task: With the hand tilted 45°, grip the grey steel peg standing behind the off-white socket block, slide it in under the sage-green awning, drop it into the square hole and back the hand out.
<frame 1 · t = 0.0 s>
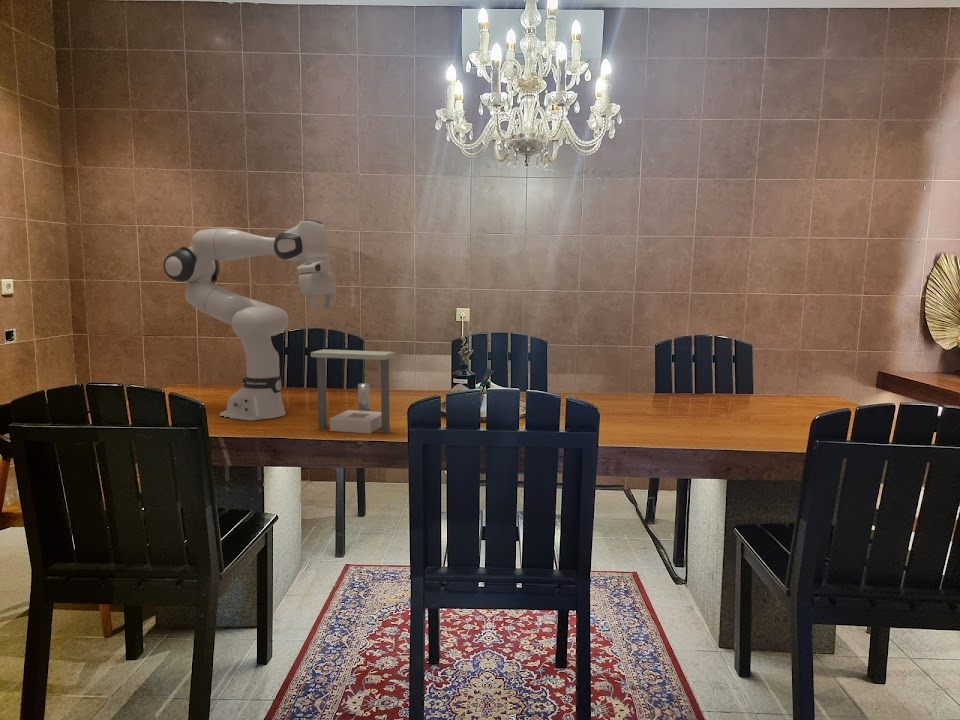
hand: (321, 308, 220), 39 cm above the table, tool pointing down, fingers open, 8 cm apart
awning: (358, 427, 213), on the table
peg: (364, 417, 227), on the table
socket: (358, 427, 213), on the table
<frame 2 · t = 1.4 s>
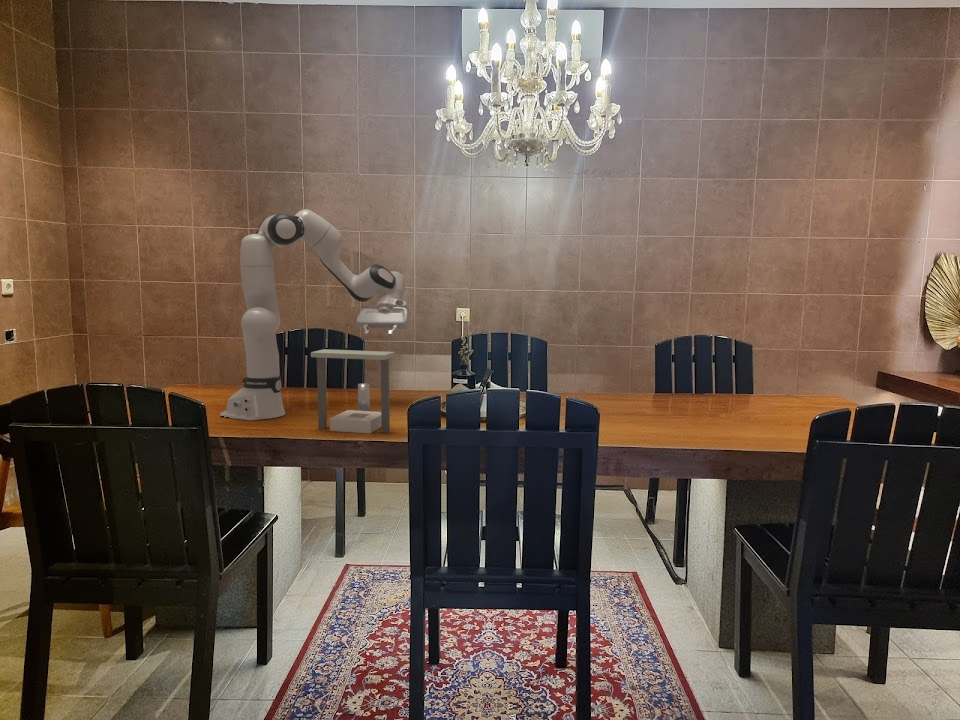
hand: (378, 335, 237), 28 cm above the table, tool tilted 45°, fingers open, 8 cm apart
nothing on the table moved.
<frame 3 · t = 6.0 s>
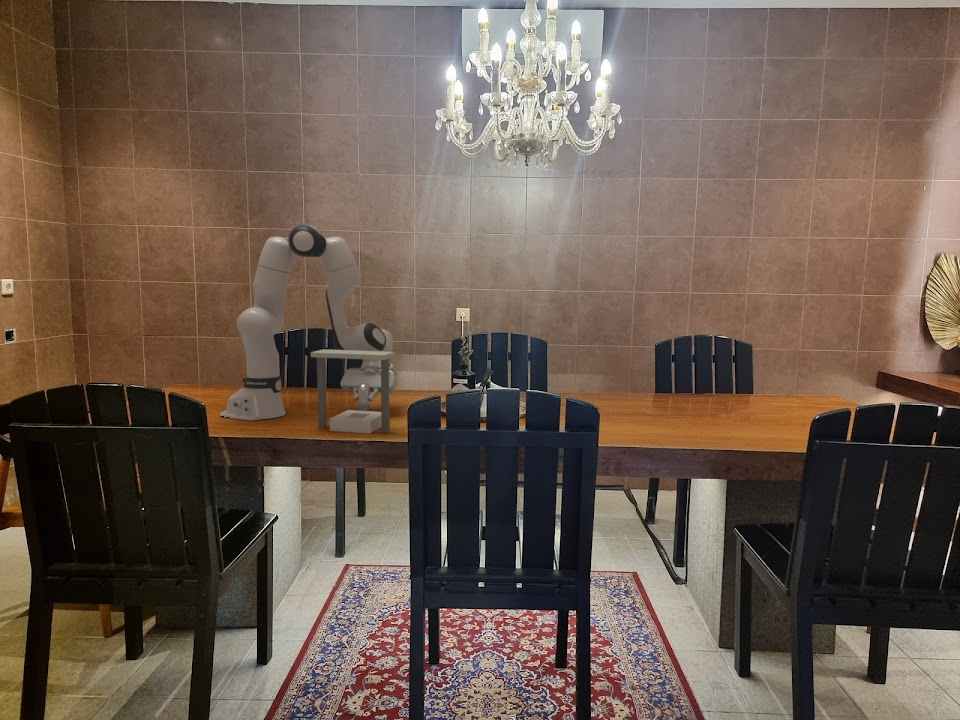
hand: (363, 400, 226), 6 cm above the table, tool tilted 45°, fingers closed on peg, 4 cm apart
peg: (364, 417, 227), on the table, touching gripper
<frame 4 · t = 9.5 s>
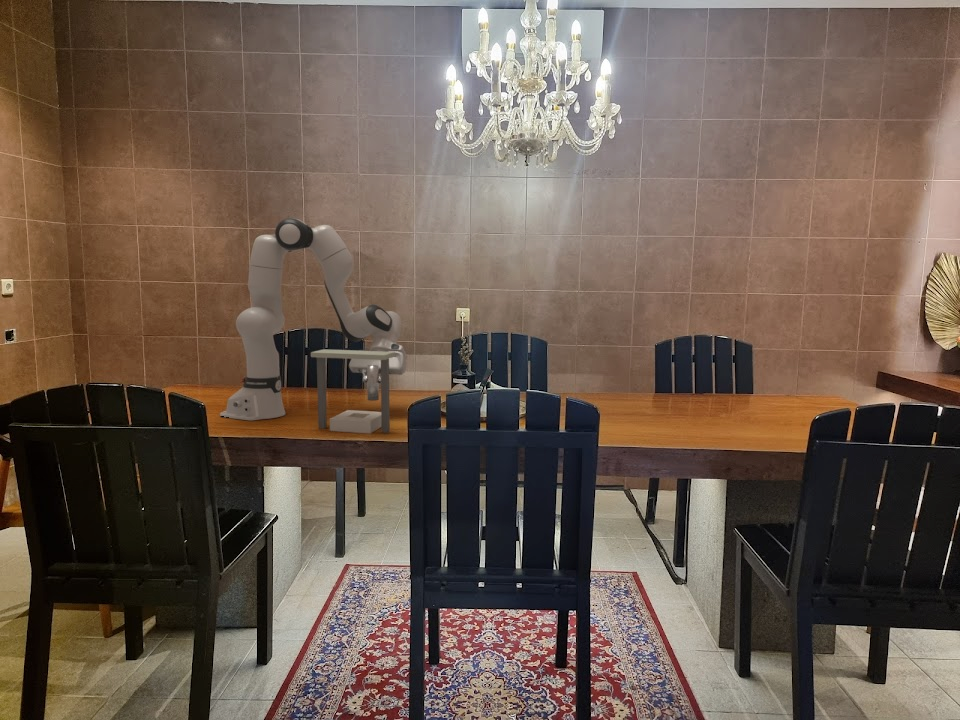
hand: (372, 381, 223), 13 cm above the table, tool tilted 45°, fingers closed on peg, 4 cm apart
peg: (373, 399, 225), point 7 cm above the table, touching gripper
when the fingers open (8 cm above the table, at t = 13.3 s): peg drops 2 cm, resting in socket.
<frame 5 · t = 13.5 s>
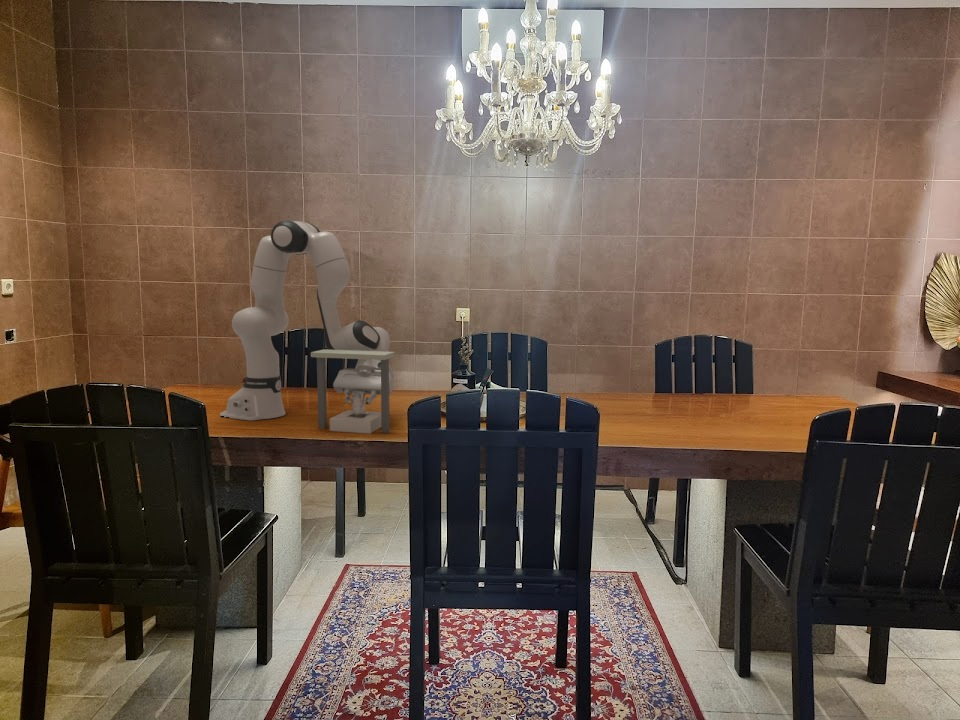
hand: (357, 402, 211), 8 cm above the table, tool tilted 45°, fingers open, 6 cm apart
peg: (358, 427, 213), resting in socket
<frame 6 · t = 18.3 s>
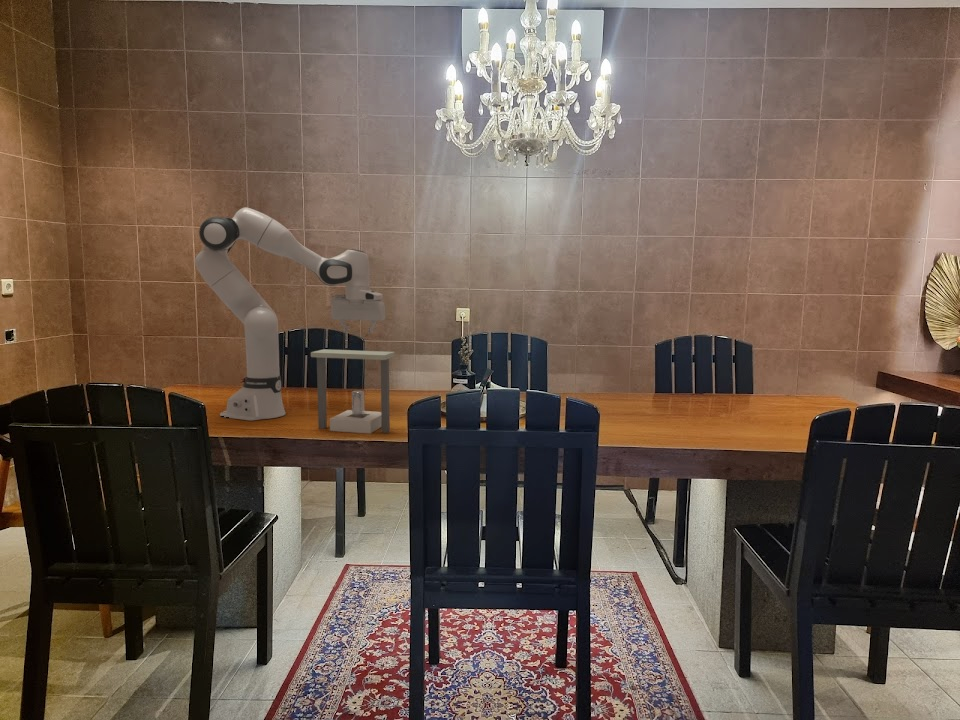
hand: (358, 332, 235), 29 cm above the table, tool pointing down, fingers open, 8 cm apart
nothing on the table moved.
at the end: peg 0.1 cm off-centre on the socket, point 0.0 cm above the socket's base; peg tilted 0°; the gripper is holding nothing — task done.
